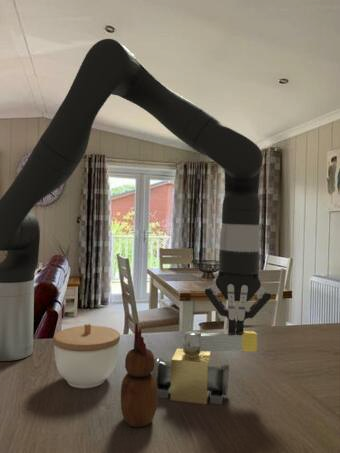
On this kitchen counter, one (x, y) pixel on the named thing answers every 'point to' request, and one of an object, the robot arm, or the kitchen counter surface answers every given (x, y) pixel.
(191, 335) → the lever
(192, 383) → the ball valve
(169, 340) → the kitchen counter surface
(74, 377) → the lidded bowl
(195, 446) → the kitchen counter surface
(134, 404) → the wooden figurine
